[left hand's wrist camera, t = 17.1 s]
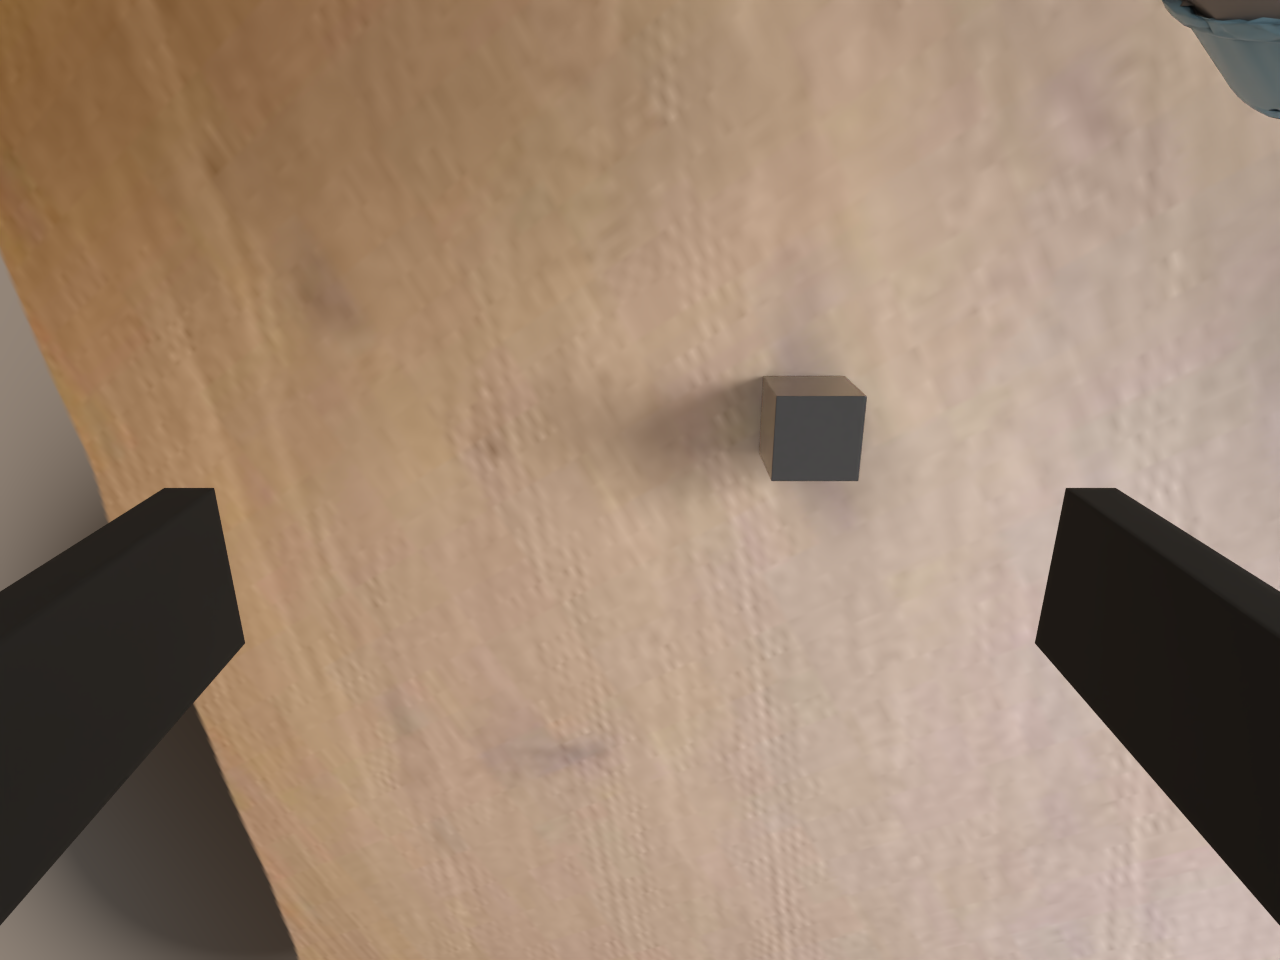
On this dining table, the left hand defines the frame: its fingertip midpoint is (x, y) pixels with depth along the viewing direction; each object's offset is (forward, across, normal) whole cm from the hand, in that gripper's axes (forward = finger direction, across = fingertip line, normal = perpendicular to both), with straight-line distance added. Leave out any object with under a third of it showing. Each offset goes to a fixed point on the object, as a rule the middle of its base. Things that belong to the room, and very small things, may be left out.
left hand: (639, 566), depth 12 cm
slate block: (+27, +8, -5) cm, 28 cm away
